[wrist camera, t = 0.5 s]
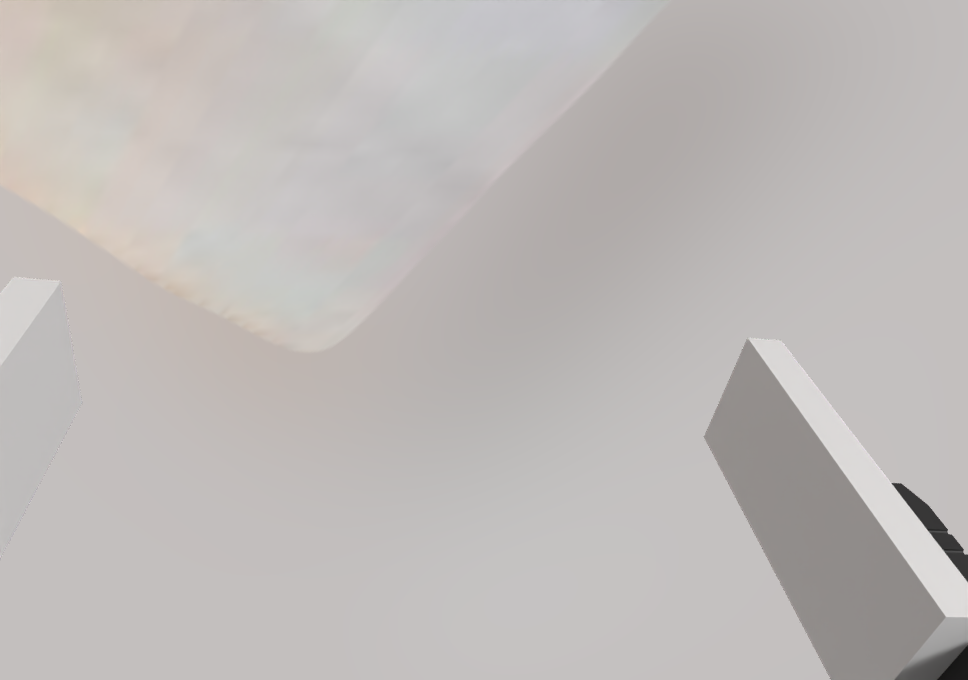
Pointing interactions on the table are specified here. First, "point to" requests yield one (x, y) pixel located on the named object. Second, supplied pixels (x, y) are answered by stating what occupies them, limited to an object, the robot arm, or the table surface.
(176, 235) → the table surface
